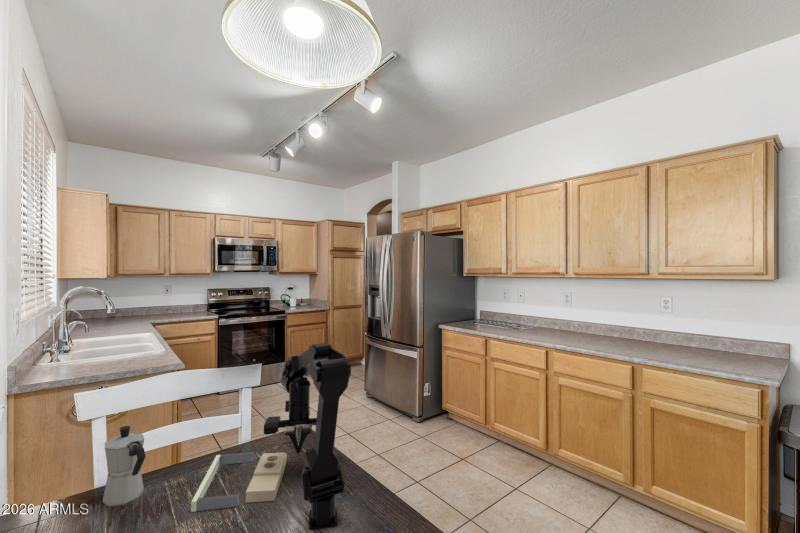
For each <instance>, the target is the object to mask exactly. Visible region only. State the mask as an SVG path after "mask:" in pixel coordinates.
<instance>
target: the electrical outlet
mask: <svg viewBox="0 0 800 533" xmlns="http://www.w3.org/2000/svg"><path fill="white" fill-rule="evenodd" d="M286 467H287V452H286V451H285V452H267V453H265V452H264V453H262V454H261V457H260V459H259V460H258V462H257V465H256V467H255V470H254V471H253V476H252V477H251V480H250V481H249V485H248V486H247V487H246V488H247V489H246V491H245V503H259V502H261V503H262V502H273V501H275V500H276V497H277V495H278V491H279V488H280V485H281V481H282V478H283V476H284V473H285V470H286Z"/></svg>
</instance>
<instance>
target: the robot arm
mask: <svg viewBox="0 0 800 533" xmlns="http://www.w3.org/2000/svg"><path fill="white" fill-rule="evenodd" d="M284 363H285V364H284V366H283V368H282V371H281V378H280V383H281V386H282V387H283V388H284V390H285V391H287V393H288V394H289V396H288V400H286V401H285V406H284V407H285V408H284V411H285V413H288V419H284V420H282V419H281V416H279V415H278V416H268V417H266V419H265V421H264V423H263V424H264V425H263V434H264V435H275V434H276V433H278V431H279V429H280V428H284V429H285V431H284V432H285V433H284V436H288V437H289V439H290V440H291V442H292V444H293V447H294V450H295V452H296V454H300V453H301V451H302V448H303V445H304V443H305V440H306V439H307V437H308V435H310V434H312V430H313V429H312V428H313V426H315V433H314V441H313V442H314V443H313V447H312V448H309V449H307V450H306V451H305V455H304V456H305V458H304V463H303V464H304V467H303V468H302V472H301V475H300V476H301V484H302V491H303V501H307V502H308V503H309V504H311V509H310V510H309V517H308V518H309V521H308V522H309V524H308V528H309V530H315V529H323V528H329V527H336V526H338V512H337V511H338V510H337V506H336V495H339V494H343V493H344V492H345V482H344V478H343V474H342V471H341V466H340V461H339V459H338V457H337V455H336V453H335V452H334V448H335V440H336V430H337V421H338V411H339V403H340V397H341V396H342V395H343V394H344V392H345V391H346V390H347V389H348V386H349V381H350V377H351V375H352V367H351V364H350V362H349V361H348V359H347V358H346V356H345V354H344V353H341V352H340V351H338V350H336V349H334V348H333V346H332V345H331V344H330V343H327V342H325V343H324V342H323V343H315V344H311V345H310V346H309V347H308V349H306V350H305V351H303V352H302V353H301V354H299V355H291V356H288V357H287V360H286V361H285V362H284ZM307 375H310V377H311V379H312V383H313V385H314V387H315V388H316V390H317V393H318V402H317V410H316V412H317V413H316V417H310V415H311V414H310V412H311V410H310V409H311V408H310V399H311V398H310V395H311V394H310V392H311V391H310V390H311V389H310V388H311V384H312V383H311V381H310V380H309V379H308V378H307ZM304 376H305V377H304ZM298 427H301V429H300V434H299V436H300V437H299V436H298ZM298 437H299V438H298Z"/></svg>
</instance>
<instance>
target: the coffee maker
mask: <svg viewBox="0 0 800 533" xmlns="http://www.w3.org/2000/svg"><path fill="white" fill-rule="evenodd" d="M130 430H131V426H130V425H125V426H121V427H120V428H119V432H120V435H118V436H112V437H110V439H109V440H107V441H106V442H104V451H105V458H106V465H107V472H108V475H107V478H106V483H105V486H104V487H105V488H104V492H103V497H102V501H101V503H102V502H103V503H102V504H103V505H105V504H106V505H105V506H107V507H109V508H111V506H112V507H116V506H117V507H118V506H123V505H124V506H125V505H127V504H128V502H129V503H130V501H131V502H133V501H134V500H137V499H139V498H140V497H141V496H142V494H143V492H145V488H144V480H143V476H142V471H141V469H142V466H143V464H144V461H145V458H146V452H145V448H144V443H145V437H144V434H143V433H130ZM126 503H127V504H126Z"/></svg>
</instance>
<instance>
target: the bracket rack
mask: <svg viewBox="0 0 800 533" xmlns="http://www.w3.org/2000/svg"><path fill="white" fill-rule="evenodd" d="M254 456H255V452H254V451H250V452H249V451H248V452H238V453H227V454H226V453H225V454H216V455H215V457H214V459H213V461H212V463H211V464H210V467H209V468H208V470H207V472H206V473H205V475H204V477H203V479H202V481H201V483H200V485H199V486H198V489H197V490H196V491H195V494H194V496H193V498H192V500H191V502H190V513H196V512H197V513H198V512H204V511H213V510H220V509H230V508H237V507H239V504H240V494H239V493H235V494H226V495H216V496H215V495H214V496H207V497H205V495H206V493H207V491H208V489H209V487H210V486H211V482H213V480H214V477H215V475H216V473H217V471H218V469H219V467H220V466H222V465H232V464H245V463H247V464H248V463H253V462H254V460H255V459H254Z"/></svg>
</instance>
